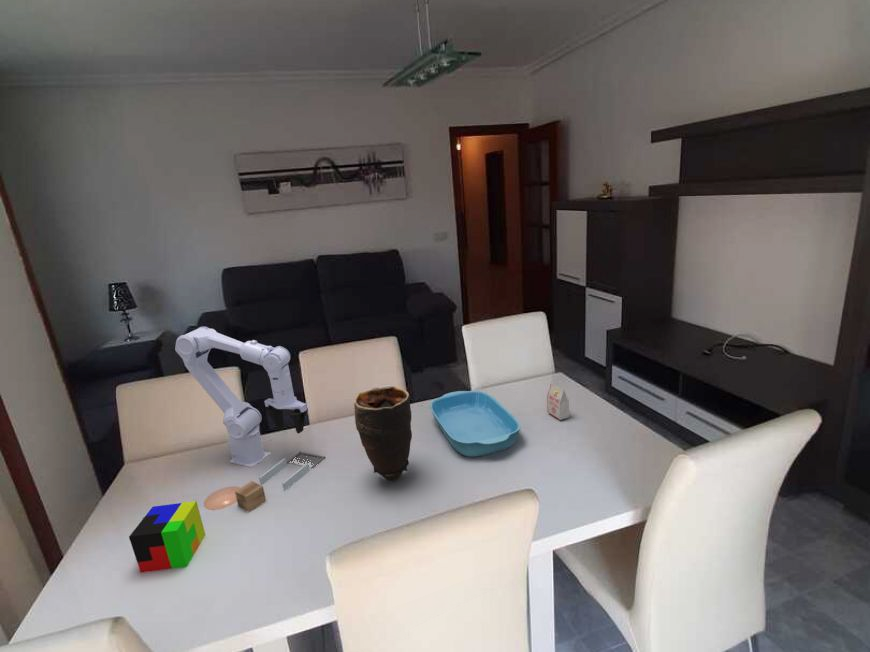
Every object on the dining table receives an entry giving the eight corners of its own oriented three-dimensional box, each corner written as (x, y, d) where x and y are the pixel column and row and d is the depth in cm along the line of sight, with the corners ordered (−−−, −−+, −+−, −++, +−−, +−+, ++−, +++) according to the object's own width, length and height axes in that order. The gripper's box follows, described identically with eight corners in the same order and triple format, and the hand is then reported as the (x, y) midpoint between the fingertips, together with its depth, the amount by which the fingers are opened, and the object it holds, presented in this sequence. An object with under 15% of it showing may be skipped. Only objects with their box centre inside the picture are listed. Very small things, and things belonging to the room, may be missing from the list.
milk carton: (556, 409, 157) (555, 382, 154) (569, 417, 151) (568, 389, 148) (547, 411, 156) (546, 384, 153) (559, 419, 150) (559, 391, 147)
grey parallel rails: (260, 485, 129) (258, 477, 128) (285, 465, 138) (283, 458, 137) (285, 491, 125) (284, 483, 124) (309, 471, 134) (308, 463, 133)
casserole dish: (533, 452, 133) (532, 430, 131) (461, 472, 127) (459, 449, 125) (482, 403, 167) (481, 385, 165) (424, 416, 161) (422, 397, 159)
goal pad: (195, 506, 122) (195, 505, 122) (225, 484, 131) (225, 483, 131) (221, 514, 118) (221, 513, 118) (251, 491, 127) (251, 490, 126)
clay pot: (366, 501, 118) (353, 413, 111) (362, 469, 132) (350, 389, 125) (423, 489, 120) (413, 402, 114) (413, 458, 135) (404, 380, 128)
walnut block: (238, 507, 120) (234, 491, 119) (255, 496, 124) (251, 480, 123) (249, 513, 117) (245, 496, 116) (266, 502, 121) (262, 486, 120)
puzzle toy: (163, 542, 110) (152, 506, 107) (205, 536, 111) (196, 501, 108) (141, 574, 100) (128, 536, 98) (187, 568, 101) (176, 530, 98)
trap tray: (286, 463, 139) (286, 462, 138) (300, 453, 144) (299, 451, 144) (312, 469, 134) (312, 467, 134) (325, 458, 140) (325, 456, 139)
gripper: (310, 385, 135) (318, 426, 138) (273, 381, 141) (281, 420, 145) (294, 395, 129) (302, 438, 132) (256, 390, 135) (265, 431, 139)
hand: (290, 430), depth 138 cm, fingers open, 7 cm apart
